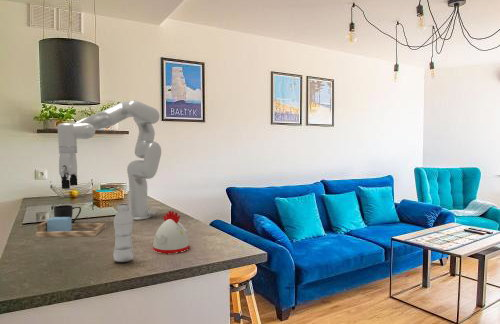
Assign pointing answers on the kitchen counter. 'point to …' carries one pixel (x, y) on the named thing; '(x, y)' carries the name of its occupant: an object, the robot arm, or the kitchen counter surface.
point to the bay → (97, 229)
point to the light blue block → (59, 224)
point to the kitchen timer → (171, 235)
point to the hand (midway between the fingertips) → (69, 187)
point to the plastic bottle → (123, 234)
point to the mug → (65, 211)
